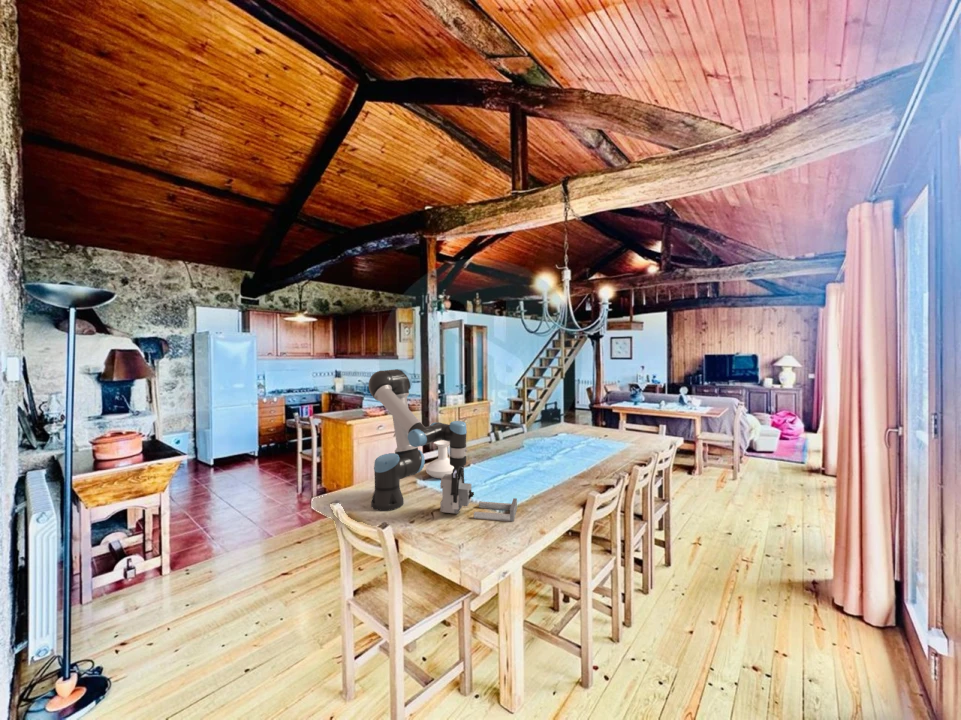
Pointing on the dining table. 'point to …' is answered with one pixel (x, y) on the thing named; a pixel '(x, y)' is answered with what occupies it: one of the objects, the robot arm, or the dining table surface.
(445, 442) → the white vase
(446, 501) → the circuit breaker
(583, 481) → the dining table surface
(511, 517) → the channel
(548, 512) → the dining table surface
